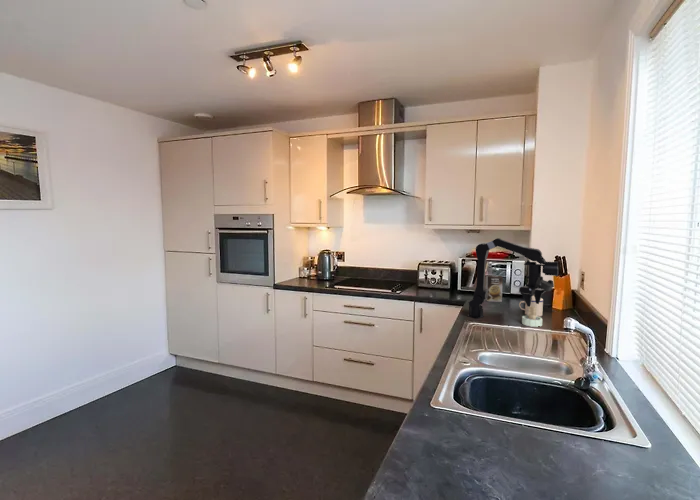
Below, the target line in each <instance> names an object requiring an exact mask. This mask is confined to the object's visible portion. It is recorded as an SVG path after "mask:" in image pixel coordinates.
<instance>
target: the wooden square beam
mask: <svg viewBox="0 0 700 500" xmlns="http://www.w3.org/2000/svg"><path fill="white" fill-rule="evenodd" d="M528 318H529V319H533V320H535V319H536V307H533V306H530V307H529V317H528Z"/></svg>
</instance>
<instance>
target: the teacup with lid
mask: <svg viewBox="0 0 700 500" xmlns="http://www.w3.org/2000/svg"><path fill="white" fill-rule="evenodd" d="M522 303H525V305H524V306H525V308H523V307H522V306H521V304H522ZM518 306H519V308H520V310H522V311H524V315H525V316H527V315H529V307H528V306H527V304H526V302H525V300H521V301H519V304H518ZM530 306H533V307H536V316H537V317H540V318H541V317H542V316H543V312H544V311H543V307H544V299H543V298H542V297H541V299H540V302H539V304H536V301H535V297H534V295H533V296H532V299H531V305H530Z"/></svg>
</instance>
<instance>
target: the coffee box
mask: <svg viewBox="0 0 700 500" xmlns="http://www.w3.org/2000/svg"><path fill="white" fill-rule="evenodd" d="M503 279H504V277H503V276H501V275H488V274H487V275H486V274H485V290H488V293H487V295H488V297H487V298H486V300H485V302H493V303H494V302H495V303H496V302H497V303H502V302H503V282H504V281H503Z"/></svg>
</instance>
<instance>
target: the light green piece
mask: <svg viewBox="0 0 700 500" xmlns="http://www.w3.org/2000/svg"><path fill="white" fill-rule="evenodd" d="M528 317H529V315H522V316H521V323H522V325H524V326H527V327H532V328H539V327H538V326H540V327H542V326H543V317H541V316H540V317H537V316H536V319H535V320H533V319H529V318H528Z"/></svg>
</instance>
